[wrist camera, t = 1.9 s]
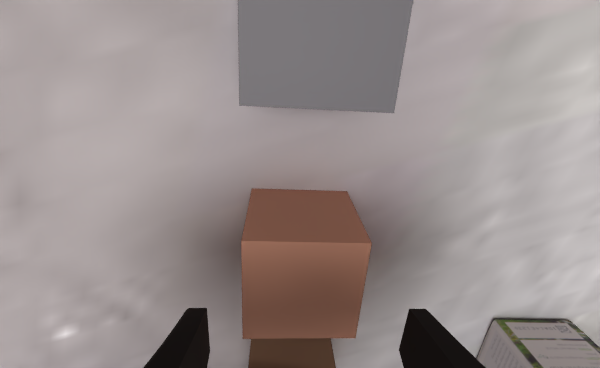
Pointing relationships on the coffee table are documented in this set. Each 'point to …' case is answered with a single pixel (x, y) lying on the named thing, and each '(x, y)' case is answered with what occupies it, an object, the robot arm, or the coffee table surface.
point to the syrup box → (537, 345)
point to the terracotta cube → (302, 265)
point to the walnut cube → (291, 353)
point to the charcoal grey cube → (322, 53)
